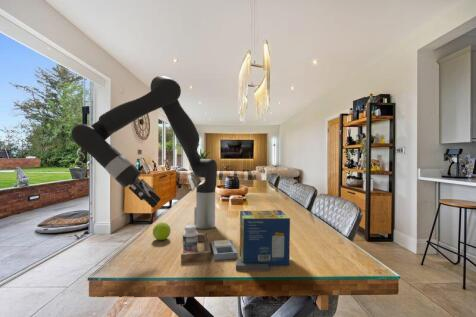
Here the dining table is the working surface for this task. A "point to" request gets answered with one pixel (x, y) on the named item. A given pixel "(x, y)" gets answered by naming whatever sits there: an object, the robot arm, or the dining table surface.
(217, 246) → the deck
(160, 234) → the tennis ball
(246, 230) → the protein box
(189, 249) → the pill bottle
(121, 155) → the robot arm
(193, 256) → the frame
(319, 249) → the dining table surface
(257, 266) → the grey flat block
